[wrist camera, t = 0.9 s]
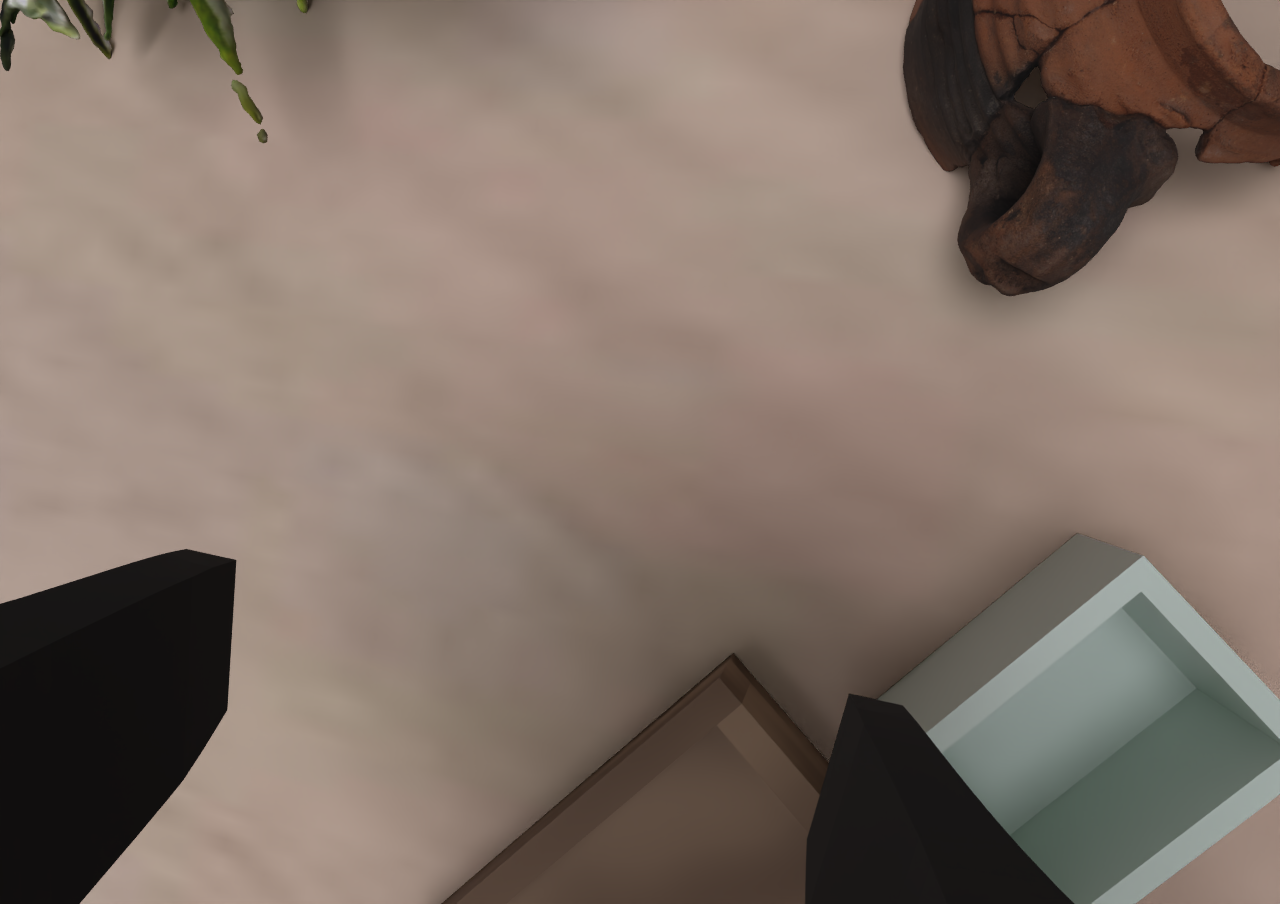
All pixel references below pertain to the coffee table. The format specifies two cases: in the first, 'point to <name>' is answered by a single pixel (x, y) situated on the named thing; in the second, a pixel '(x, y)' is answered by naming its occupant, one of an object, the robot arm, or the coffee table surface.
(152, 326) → the coffee table surface
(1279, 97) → the pottery mug
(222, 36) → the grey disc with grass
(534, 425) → the coffee table surface
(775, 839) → the walnut crate
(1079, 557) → the green crate
